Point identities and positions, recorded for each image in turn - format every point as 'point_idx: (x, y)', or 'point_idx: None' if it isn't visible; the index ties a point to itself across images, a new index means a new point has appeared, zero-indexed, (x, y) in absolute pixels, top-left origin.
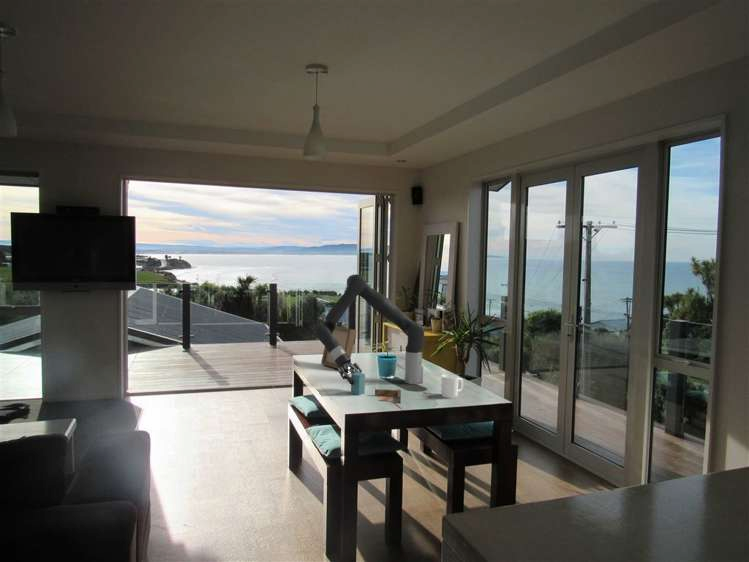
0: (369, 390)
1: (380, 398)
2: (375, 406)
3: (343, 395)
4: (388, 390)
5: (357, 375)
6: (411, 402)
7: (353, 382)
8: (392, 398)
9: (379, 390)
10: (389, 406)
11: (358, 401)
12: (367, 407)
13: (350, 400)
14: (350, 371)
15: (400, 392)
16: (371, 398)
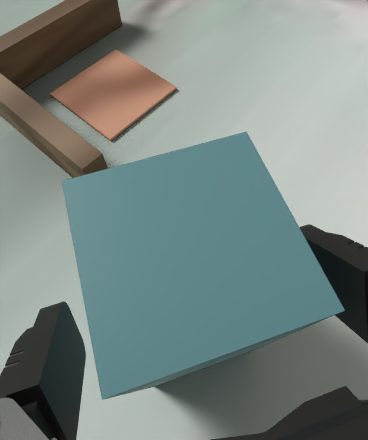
0: (11, 347)
1: (140, 109)
2: (266, 36)
3: (351, 338)
4: (28, 95)
5: (264, 165)
6: (54, 6)
7: (308, 228)
8: (77, 79)
9: (76, 135)
10: (200, 10)
11: (309, 138)
12: (317, 41)
13: (354, 182)
14: (350, 411)
15: (15, 29)
16: (184, 147)
